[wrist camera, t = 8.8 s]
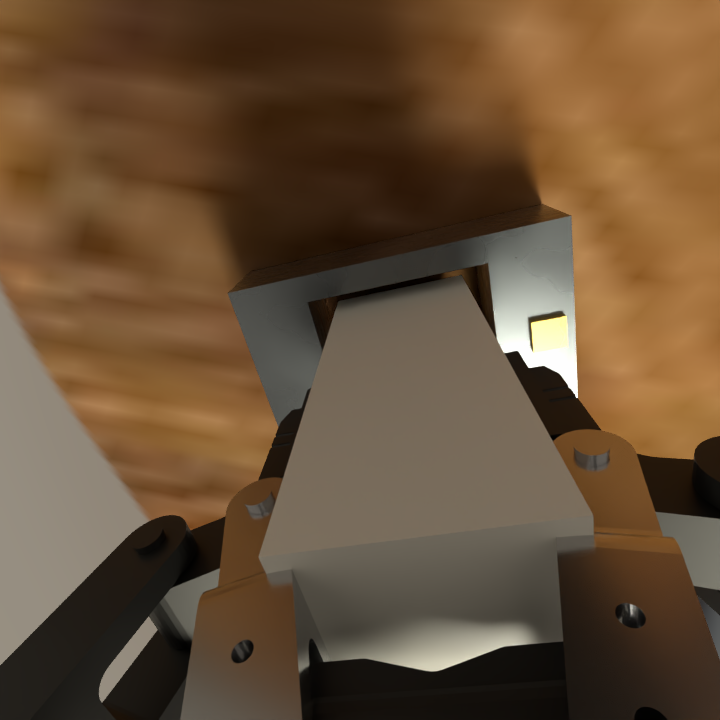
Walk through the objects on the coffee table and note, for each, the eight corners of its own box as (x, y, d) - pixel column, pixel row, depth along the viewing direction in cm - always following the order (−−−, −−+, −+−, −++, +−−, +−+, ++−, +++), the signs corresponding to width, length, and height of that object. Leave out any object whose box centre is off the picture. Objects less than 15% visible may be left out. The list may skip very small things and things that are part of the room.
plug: (338, 301, 15) (257, 557, 6) (461, 275, 14) (593, 515, 5) (372, 428, 17) (354, 761, 8) (480, 410, 16) (597, 749, 7)
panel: (250, 271, 16) (225, 295, 13) (542, 204, 14) (574, 216, 12) (342, 534, 21) (336, 585, 19) (561, 506, 20) (585, 557, 17)
